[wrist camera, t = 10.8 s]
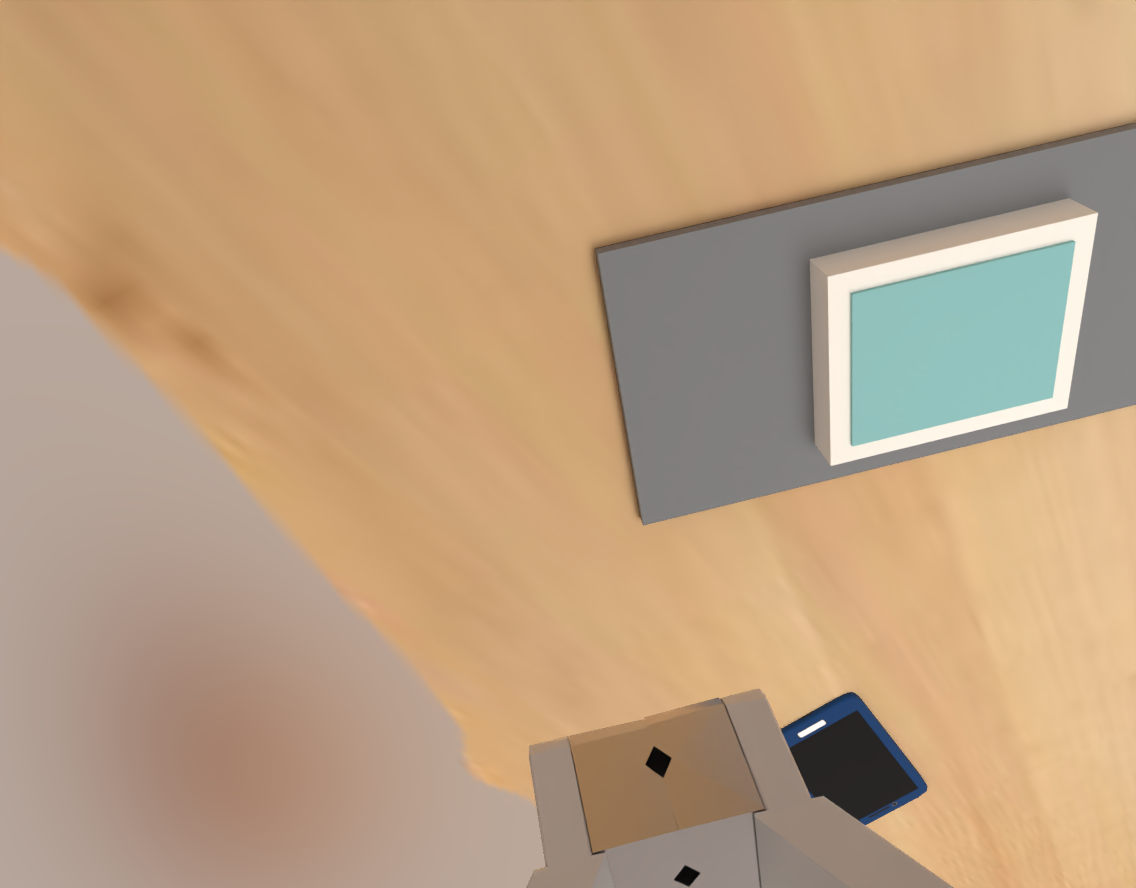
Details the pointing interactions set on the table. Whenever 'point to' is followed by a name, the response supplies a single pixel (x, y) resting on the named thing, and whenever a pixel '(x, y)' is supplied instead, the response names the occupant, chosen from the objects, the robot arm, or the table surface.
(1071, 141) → the mat
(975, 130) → the table surface
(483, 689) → the table surface
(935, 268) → the white picture frame
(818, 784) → the cell phone
